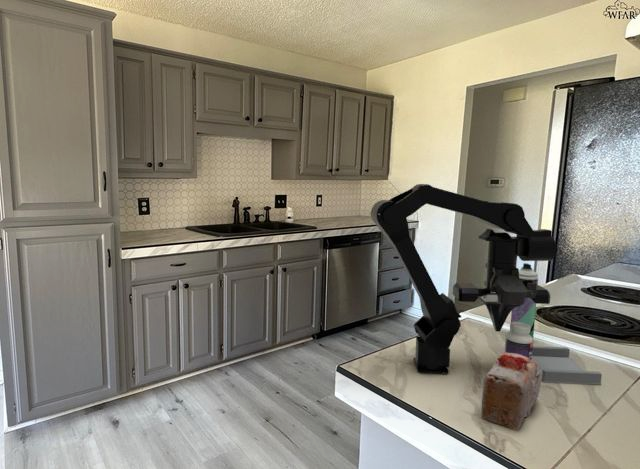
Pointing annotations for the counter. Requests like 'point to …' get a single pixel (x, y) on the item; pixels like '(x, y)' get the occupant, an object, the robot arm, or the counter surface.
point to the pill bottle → (519, 340)
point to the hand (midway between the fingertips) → (497, 330)
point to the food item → (510, 390)
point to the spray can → (526, 301)
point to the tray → (562, 367)
